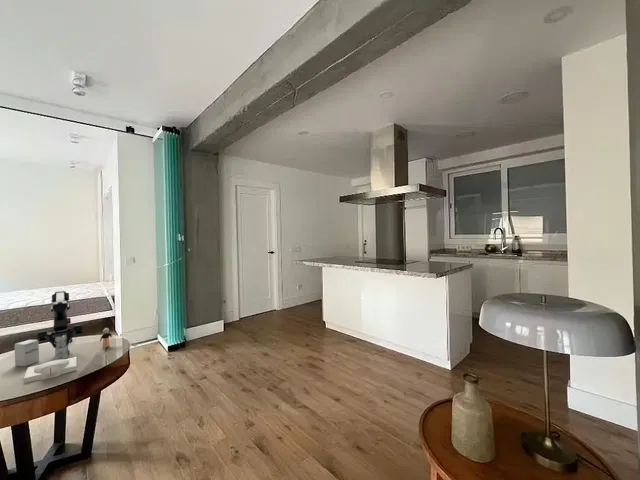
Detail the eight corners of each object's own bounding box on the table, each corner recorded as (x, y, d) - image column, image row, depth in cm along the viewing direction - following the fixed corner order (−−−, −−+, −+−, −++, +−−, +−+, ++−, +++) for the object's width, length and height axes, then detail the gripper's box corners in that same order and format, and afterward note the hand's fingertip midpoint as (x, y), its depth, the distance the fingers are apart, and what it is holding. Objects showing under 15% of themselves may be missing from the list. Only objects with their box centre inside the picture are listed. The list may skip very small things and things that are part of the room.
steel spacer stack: (58, 356, 159) (58, 334, 158) (69, 354, 160) (68, 333, 160) (53, 360, 154) (52, 338, 153) (64, 358, 155) (63, 336, 155)
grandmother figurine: (103, 349, 184) (103, 330, 184) (98, 349, 185) (98, 329, 185) (114, 345, 192) (113, 326, 192) (109, 344, 192) (108, 326, 192)
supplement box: (24, 366, 162) (23, 344, 162) (14, 365, 163) (13, 343, 163) (39, 361, 169) (39, 339, 169) (30, 360, 170) (29, 339, 170)
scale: (28, 371, 155) (27, 361, 155) (76, 360, 168) (76, 350, 168) (23, 384, 141) (22, 372, 141) (76, 371, 154) (75, 360, 154)
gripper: (36, 317, 153) (35, 343, 145) (81, 310, 165) (83, 334, 158) (38, 328, 159) (37, 354, 151) (81, 321, 172) (83, 344, 164)
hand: (61, 346), depth 156 cm, fingers closed on steel spacer stack, 5 cm apart
